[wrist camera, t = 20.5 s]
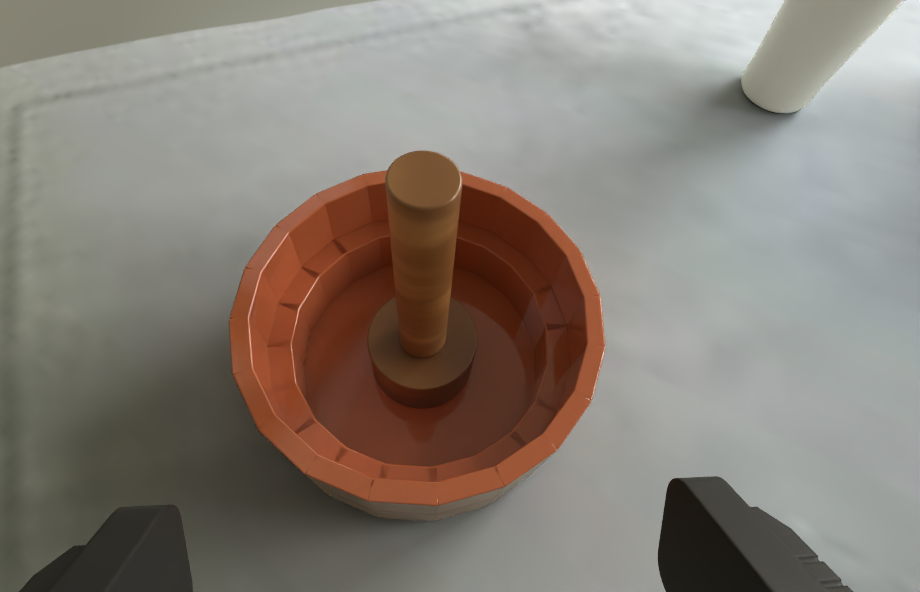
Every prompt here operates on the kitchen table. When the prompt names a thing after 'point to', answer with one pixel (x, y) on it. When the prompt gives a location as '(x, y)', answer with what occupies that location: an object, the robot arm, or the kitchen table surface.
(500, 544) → the kitchen table surface
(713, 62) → the kitchen table surface
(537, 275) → the bowl
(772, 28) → the drinking glass
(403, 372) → the wooden knob stand
